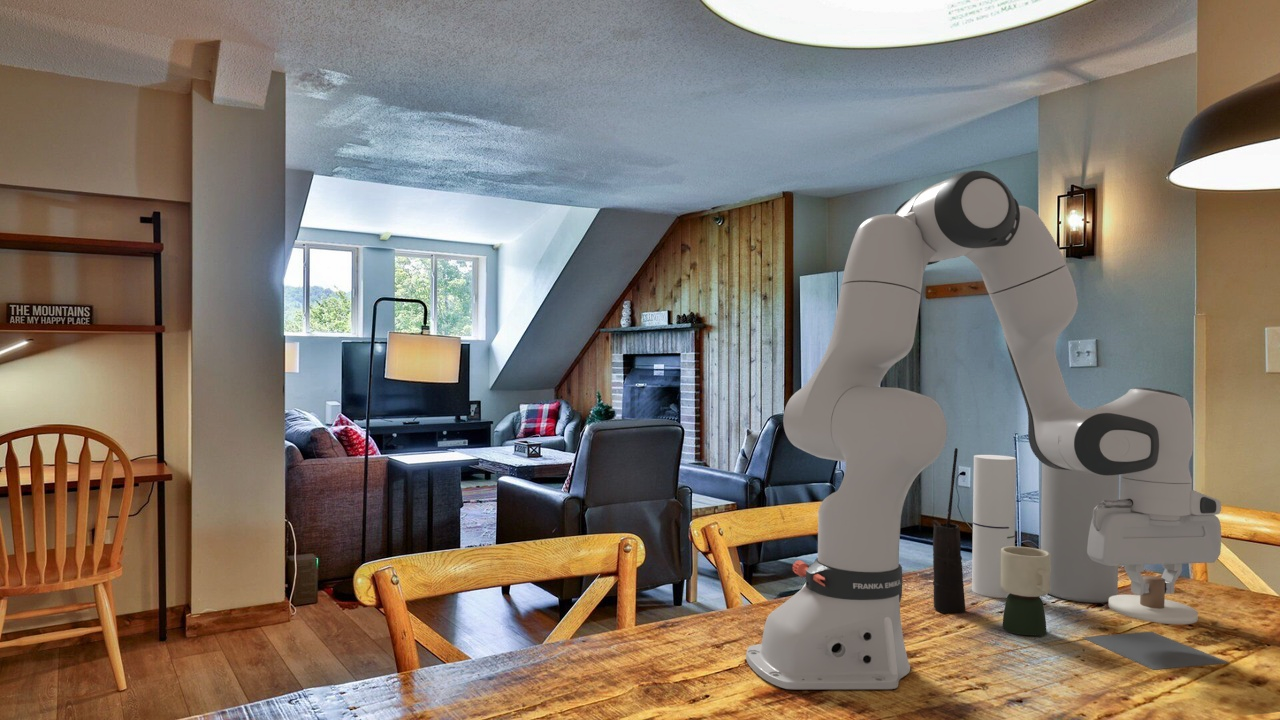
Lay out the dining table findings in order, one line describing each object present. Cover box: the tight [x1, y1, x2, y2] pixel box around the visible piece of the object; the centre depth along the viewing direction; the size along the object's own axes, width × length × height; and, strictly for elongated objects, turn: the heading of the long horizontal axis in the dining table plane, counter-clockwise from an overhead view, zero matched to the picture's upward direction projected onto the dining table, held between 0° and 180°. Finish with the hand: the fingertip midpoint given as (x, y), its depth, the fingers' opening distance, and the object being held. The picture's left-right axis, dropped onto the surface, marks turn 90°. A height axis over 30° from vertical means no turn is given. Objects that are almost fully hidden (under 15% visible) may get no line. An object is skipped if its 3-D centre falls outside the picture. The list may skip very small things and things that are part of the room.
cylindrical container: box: [971, 454, 1017, 599], centre depth 149 cm, size 7×7×25 cm
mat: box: [1080, 631, 1230, 671], centre depth 118 cm, size 13×13×1 cm
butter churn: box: [931, 447, 967, 615], centre depth 139 cm, size 9×10×28 cm
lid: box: [1108, 574, 1199, 625], centre depth 118 cm, size 11×11×5 cm
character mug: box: [1001, 545, 1051, 637], centre depth 126 cm, size 11×7×13 cm, turn 10°
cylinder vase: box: [1040, 462, 1120, 604], centre depth 148 cm, size 12×12×25 cm
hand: (1152, 593), depth 118 cm, fingers closed on lid, 3 cm apart
